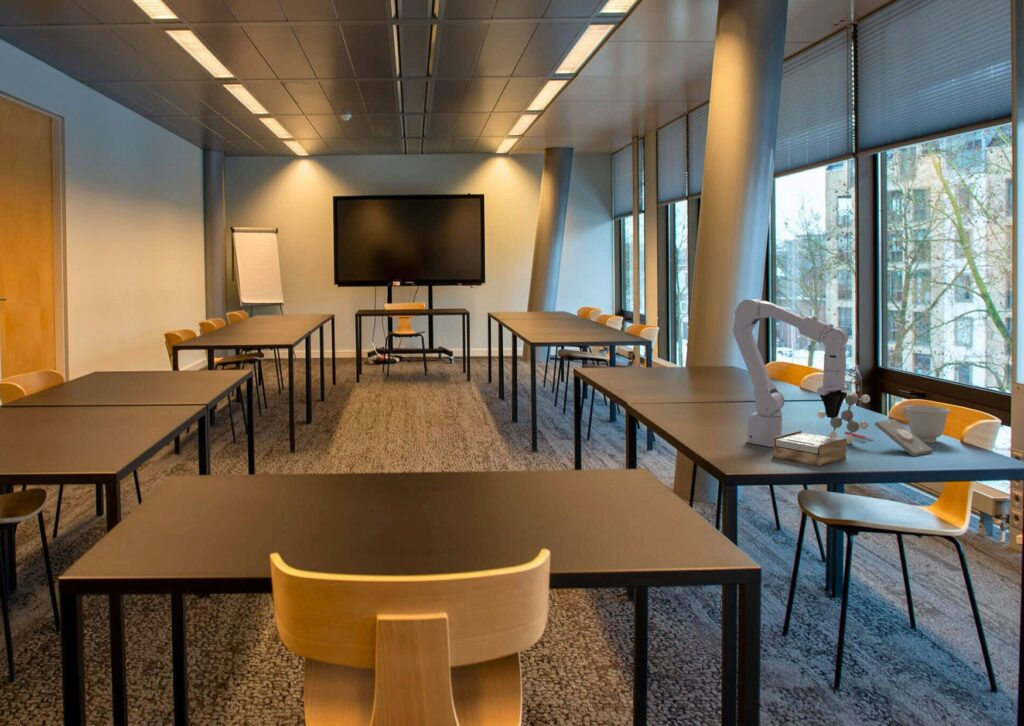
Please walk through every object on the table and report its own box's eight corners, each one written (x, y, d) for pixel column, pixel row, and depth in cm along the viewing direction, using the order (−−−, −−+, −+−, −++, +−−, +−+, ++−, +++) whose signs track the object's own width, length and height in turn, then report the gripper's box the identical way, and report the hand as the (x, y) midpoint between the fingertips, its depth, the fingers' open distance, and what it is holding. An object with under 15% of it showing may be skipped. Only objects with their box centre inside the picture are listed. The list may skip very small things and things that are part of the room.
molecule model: (887, 453, 234) (900, 402, 233) (848, 444, 228) (862, 392, 227) (838, 440, 252) (850, 392, 252) (801, 431, 246) (813, 383, 246)
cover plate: (775, 445, 218) (776, 439, 217) (802, 438, 227) (802, 432, 226) (817, 453, 208) (818, 446, 208) (843, 445, 217) (843, 439, 217)
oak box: (772, 457, 219) (773, 437, 218) (799, 449, 228) (799, 430, 227) (820, 466, 208) (821, 445, 207) (845, 458, 217) (846, 438, 216)
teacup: (917, 433, 249) (919, 402, 247) (957, 443, 235) (959, 410, 233) (887, 436, 245) (889, 404, 244) (926, 446, 231) (928, 413, 230)
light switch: (916, 451, 218) (877, 419, 228) (906, 467, 221) (867, 434, 231) (935, 447, 222) (895, 416, 232) (924, 463, 225) (886, 431, 235)
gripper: (835, 373, 215) (833, 422, 217) (860, 369, 224) (857, 416, 226) (811, 371, 220) (809, 418, 222) (836, 367, 230) (834, 412, 231)
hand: (832, 417), depth 224 cm, fingers closed
